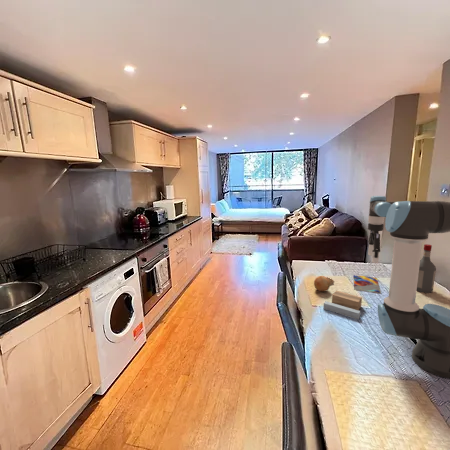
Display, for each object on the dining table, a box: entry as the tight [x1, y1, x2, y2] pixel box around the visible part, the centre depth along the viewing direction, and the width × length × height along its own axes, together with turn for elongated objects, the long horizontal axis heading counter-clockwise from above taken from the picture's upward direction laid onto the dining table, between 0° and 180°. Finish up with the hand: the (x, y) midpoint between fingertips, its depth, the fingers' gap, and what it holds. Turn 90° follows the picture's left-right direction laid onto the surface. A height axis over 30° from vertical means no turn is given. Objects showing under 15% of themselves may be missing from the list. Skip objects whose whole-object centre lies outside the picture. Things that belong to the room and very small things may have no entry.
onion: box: [313, 275, 331, 293], centre depth 162 cm, size 10×10×10 cm
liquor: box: [416, 244, 437, 294], centre depth 156 cm, size 9×9×30 cm
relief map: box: [352, 274, 382, 295], centre depth 170 cm, size 25×15×2 cm, turn 154°
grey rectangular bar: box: [323, 300, 361, 320], centre depth 136 cm, size 3×18×4 cm, turn 50°
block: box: [331, 290, 363, 311], centre depth 143 cm, size 7×14×6 cm, turn 47°
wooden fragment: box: [326, 276, 335, 288], centre depth 173 cm, size 26×11×1 cm, turn 138°
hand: (372, 258), depth 144 cm, fingers open, 13 cm apart
